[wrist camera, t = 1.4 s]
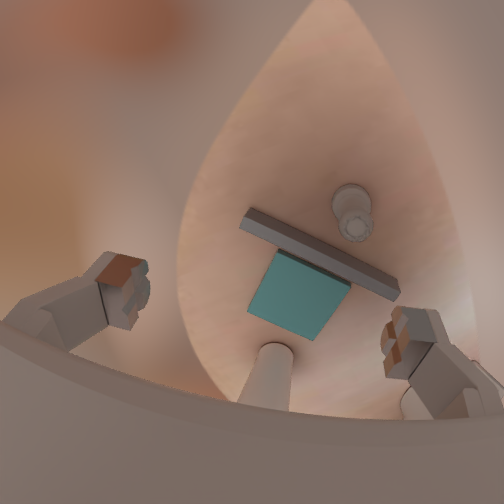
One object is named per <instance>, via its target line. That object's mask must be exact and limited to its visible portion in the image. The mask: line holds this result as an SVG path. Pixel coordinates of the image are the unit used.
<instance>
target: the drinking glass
mask: <svg viewBox="0 0 504 504" xmlns="http://www.w3.org/2000/svg"><path fill="white" fill-rule="evenodd" d="M293 360H294V356H293V353H292V351H291V350H290V349H289V348H288V347H286V346H285V345H282V344H279V343H269V344H266V345H264V346H263V347H262V348H261V349H260V350H259V352H258V355H257V359H256V361H255V363H254V366H253V368H252V370H251V372H250V375H249V377H248V379H247V381H246V383H245V386H244V388H243V390H242V392H241V394H240V396H239V399H238V401H237V403H241V404H246V405H251V406H257V407H263V408H269V409H275V410H282V411H289V401H290V388H291V376H292V366H293Z"/></svg>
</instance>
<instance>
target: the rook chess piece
mask: <svg viewBox="0 0 504 504" xmlns="http://www.w3.org/2000/svg"><path fill="white" fill-rule="evenodd" d="M332 210H333V212H334V215H335V217H336V218H337V219H338V220H339V231H340V233H341V235H342V236H343V237H344V238H345V239H347V240H349V241H351V242H361V241H364V240H365V239H366V238H367V237H369V236H370V234H371V232H372V230H373V220H372V217H371V216H370V212H371V200H370V197H369V194H368V193H367V192H366V191H365V190H364V188H362V187H360V186H358V185H349V184H348V185H345V186H342V187H340V188H339V189H338V190H337V191H336V192H335V193H334V196H333V198H332Z"/></svg>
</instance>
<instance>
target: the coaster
mask: <svg viewBox="0 0 504 504" xmlns="http://www.w3.org/2000/svg"><path fill="white" fill-rule="evenodd" d="M350 288H351V283H349V282H347V281H345V280H343V279H341V278H339V277H337V276H335V275H333V274H331V273H329V272H327V271H325V270H322V269H320V268H318V267H316V266H314V265H312V264H310V263H308V262H306V261H304V260H302V259H299V258H297V257H295V256H293V255H291V254H289V253H287V252H285V251H283V250H280V249H278V250H277V252H276V254H275V256H274V258H273V260H272V262H271V264H270V266H269V268H268V270H267V272H266V274H265V276H264V278H263V280H262V282H261V284H260V286H259V288H258V290H257V292H256V294H255V296H254V297H253V299H252V301H251V303H250V305H249V307H248V310H247V312H249V313H251V314H253V315H255V316H258V317H260V318H262V319H264V320H266V321H269V322H271V323H273V324H275V325H277V326H280V327H282V328H284V329H286V330H289V331H291V332H293V333H296V334H298V335H300V336H302V337H305V338H307V339H309V340H312V341H313V340H314V339H315V337H316V336H317V335H318V333H319V332H320V331H321V329H322V328H323V326H324V325H325V324H326V322H327V321H328V320H329V318H330V317H331V315H332V314H333V313H334V311H335V310H336V308H337V307H338V305H339V304H340V303H341V301H342V300H343V298H344V297H345V295H346V294H347V292H348V291H349V289H350Z"/></svg>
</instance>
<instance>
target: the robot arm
mask: <svg viewBox="0 0 504 504" xmlns="http://www.w3.org/2000/svg"><path fill="white" fill-rule="evenodd" d="M148 270H149V269H148V263H147V261H146V260H144V259H139V258H135V257H131V256H127V255H123V254H117V253H113V252H109V251H107V252H104V253H103V254H102V255H101V256H100V257H99V258H98V259H97V260H96V261H95V262H94V263H93V265H92V266H91V267H90V268H89V269H88V270H87V271H86V272H85V273H84V274H83V276H82V277H75V278H73V279H70V280H67V281H65V282H62V283H60V284H57V285H55V286H52V287H50V288H47V289H45V290H42V291H40V292H38V293H35V294H33V295H30V296H28V297H26V298H23V299H21V300H20V301H19V302H18V304H17V305H16V306H15V307H14V308H13V309H12V310H11V311H10V312H9V314H8V315H7V316H6V317H5V318H4V319H3V320H2V321H0V504H504V409H503V405H502V402H501V399H502V397H503V396H504V387H503V386H502V385H501V384H500V383H499V382H498V381H497V380H496V379H495V378H493V377H492V376H491V375H490V374H489V373H488V372H487V371H486V370H485V369H484V368H483V367H482V366H480V365H479V364H478V363H477V362H476V361H471V360H469V359H468V358H467V357H466V356H465V355H464V354H463V353H462V352H461V351H460V350H459V349H458V348H457V347H456V346H455V345H452V344H450V341H449V338H448V336H447V333H446V330H445V328H444V325H443V323H442V320H441V318H440V315H439V313H438V312H437V311H436V310H431V309H419V308H412V307H405V306H398V305H397V306H396V307H395V308H394V310H393V312H392V314H391V316H392V321H390V322H389V323H387V324H386V326H385V328H384V330H383V332H382V337H381V351H382V353H383V354H384V355H385V356H386V358H385V360H384V362H383V363H384V369H385V376H386V378H394V379H404V380H408V382H409V384H410V385H411V386H412V387H411V388H410V389H409V390H408V391H407V392H406V393H405V394H404V396H403V398H402V400H401V405H400V406H401V410H402V413H403V415H404V418H403V420H379V419H359V418H344V417H332V416H322V415H313V414H304V413H296V412H289V411H282V410H275V409H269V408H263V407H257V406H251V405H246V404H241V403H236V402H231V401H226V400H221V399H217V398H212V397H208V396H203V395H199V394H195V393H191V392H187V391H183V390H180V389H176V388H172V387H169V386H165V385H161V384H158V383H154V382H151V381H148V380H145V379H141V378H138V377H135V376H132V375H129V374H126V373H123V372H120V371H117V370H114V369H111V368H108V367H106V366H103V365H100V364H97V363H94V362H92V361H89V360H86V359H84V358H82V357H79V356H77V355H74V354H72V353H69V351H70V350H72V349H73V348H75V347H77V346H78V345H80V344H81V343H83V342H84V341H86V340H87V339H89V338H90V337H92V336H94V335H95V334H97V333H98V332H100V331H102V330H103V329H105V328H106V327H108V325H111V326H114V327H117V328H122V329H125V330H129V331H131V329H132V328H133V326H134V324H135V323H136V321H137V319H138V318H139V316H138V311H140V310H141V309H143V308H145V306H146V304H147V302H148V299H149V295H150V281H149V280H148V279H147V277H146V276H145V275H146V274H147V273H148Z"/></svg>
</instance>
